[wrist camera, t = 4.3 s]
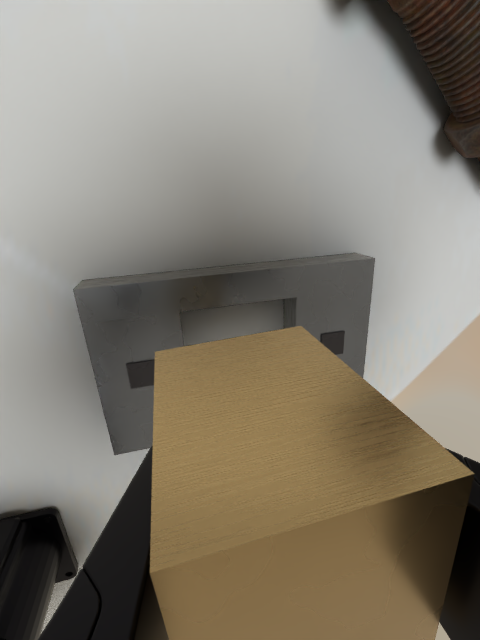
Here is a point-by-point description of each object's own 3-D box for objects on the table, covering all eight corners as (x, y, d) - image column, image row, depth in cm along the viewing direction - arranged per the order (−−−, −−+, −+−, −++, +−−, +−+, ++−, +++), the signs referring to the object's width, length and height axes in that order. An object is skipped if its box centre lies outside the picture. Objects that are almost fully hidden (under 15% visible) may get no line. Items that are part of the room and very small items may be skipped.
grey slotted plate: (344, 389, 24) (361, 405, 22) (118, 432, 20) (114, 456, 18) (355, 252, 20) (376, 258, 18) (82, 280, 17) (72, 290, 15)
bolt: (461, 185, 22) (331, -30, 16) (549, 126, 20) (433, -164, 13) (503, 224, 18) (349, -46, 12) (622, 156, 15) (504, -246, 9)
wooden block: (302, 439, 12) (432, 650, 6) (179, 470, 11) (200, 748, 5) (300, 325, 10) (474, 473, 5) (154, 351, 9) (149, 572, 4)
